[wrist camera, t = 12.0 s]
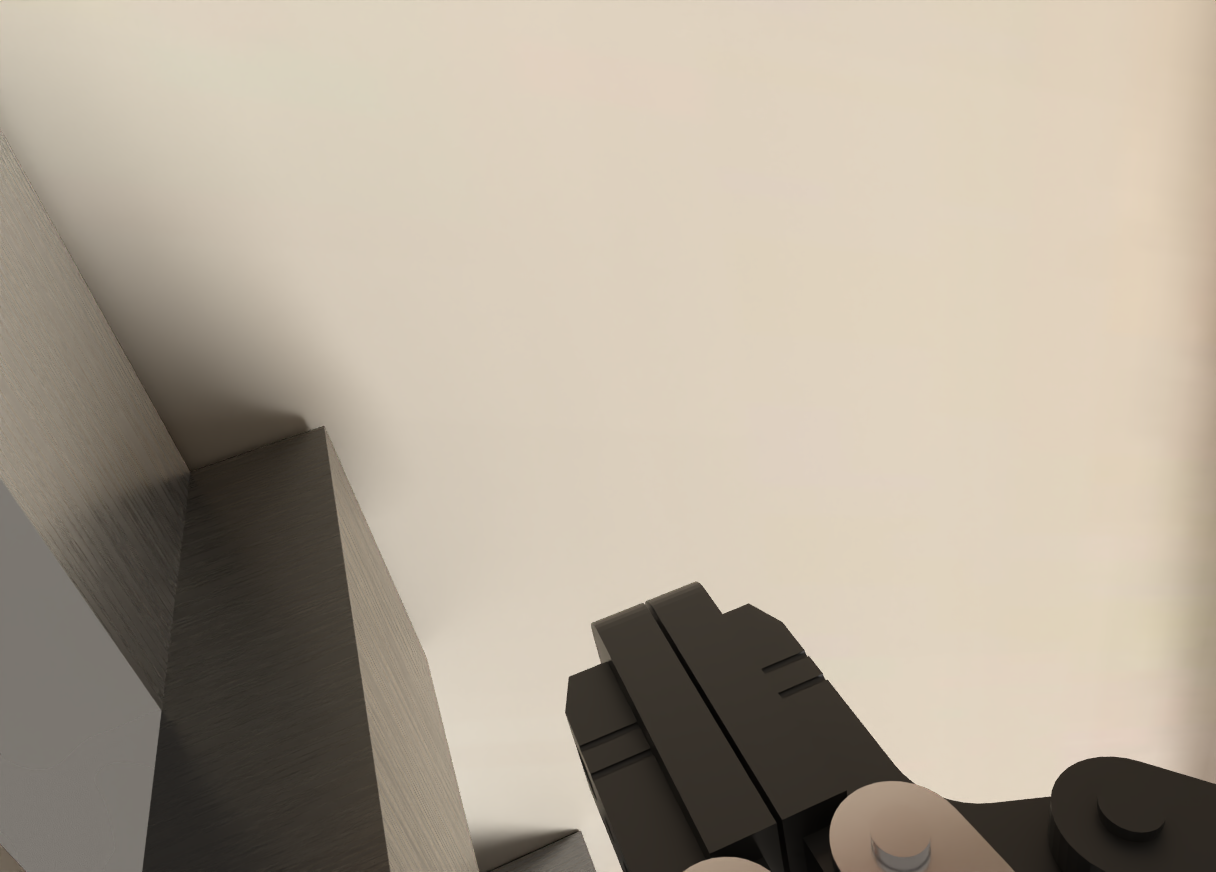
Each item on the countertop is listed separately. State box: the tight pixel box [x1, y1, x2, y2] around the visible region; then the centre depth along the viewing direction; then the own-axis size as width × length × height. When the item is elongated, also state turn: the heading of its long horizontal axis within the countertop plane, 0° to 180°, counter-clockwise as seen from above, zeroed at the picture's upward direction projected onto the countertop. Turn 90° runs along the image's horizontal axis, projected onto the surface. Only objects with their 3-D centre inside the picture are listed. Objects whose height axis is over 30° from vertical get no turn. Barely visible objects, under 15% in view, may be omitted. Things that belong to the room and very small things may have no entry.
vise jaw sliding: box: [0, 129, 479, 872], centre depth 11 cm, size 17×4×9 cm, turn 13°
